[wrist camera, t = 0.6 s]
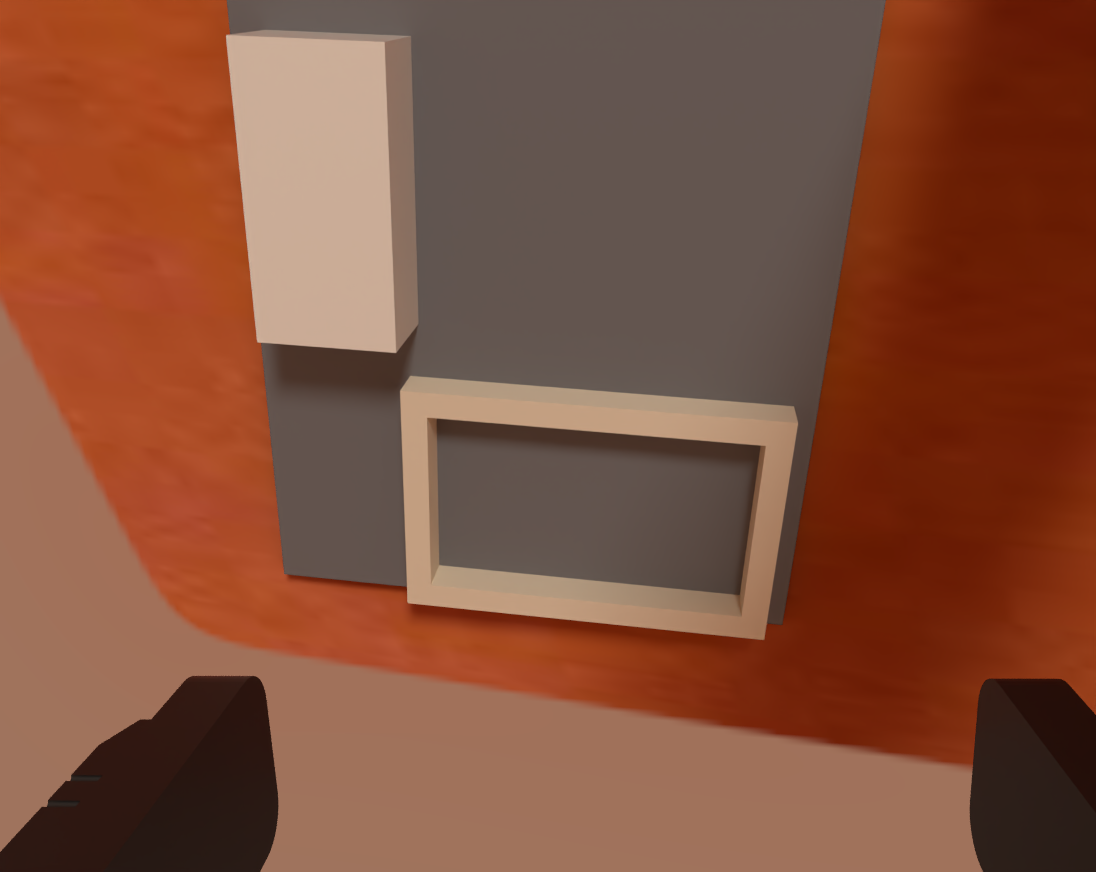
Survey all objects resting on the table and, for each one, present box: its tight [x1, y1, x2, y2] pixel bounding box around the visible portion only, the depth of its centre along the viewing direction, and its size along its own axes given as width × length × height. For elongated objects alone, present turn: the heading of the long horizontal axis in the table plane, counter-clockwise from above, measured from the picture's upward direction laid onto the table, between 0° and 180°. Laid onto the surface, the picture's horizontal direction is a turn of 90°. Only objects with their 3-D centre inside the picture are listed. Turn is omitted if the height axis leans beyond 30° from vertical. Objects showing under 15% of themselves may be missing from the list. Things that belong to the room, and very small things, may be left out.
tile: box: [226, 30, 418, 353], centre depth 27 cm, size 8×4×2 cm, turn 178°
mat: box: [227, 0, 886, 640], centre depth 29 cm, size 19×17×2 cm
